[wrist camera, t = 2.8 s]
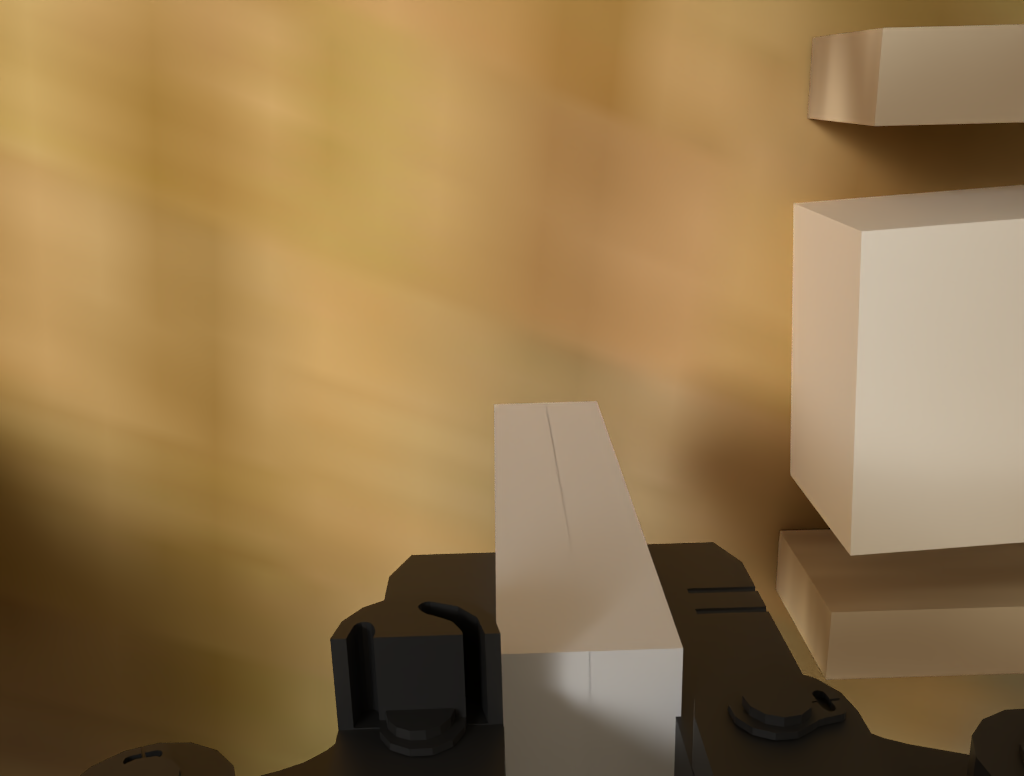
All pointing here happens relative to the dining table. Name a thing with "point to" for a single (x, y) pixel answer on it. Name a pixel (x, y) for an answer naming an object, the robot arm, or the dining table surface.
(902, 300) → the cream block
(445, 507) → the dining table surface
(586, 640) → the robot arm
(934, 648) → the trap lane box
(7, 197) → the dining table surface
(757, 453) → the dining table surface
